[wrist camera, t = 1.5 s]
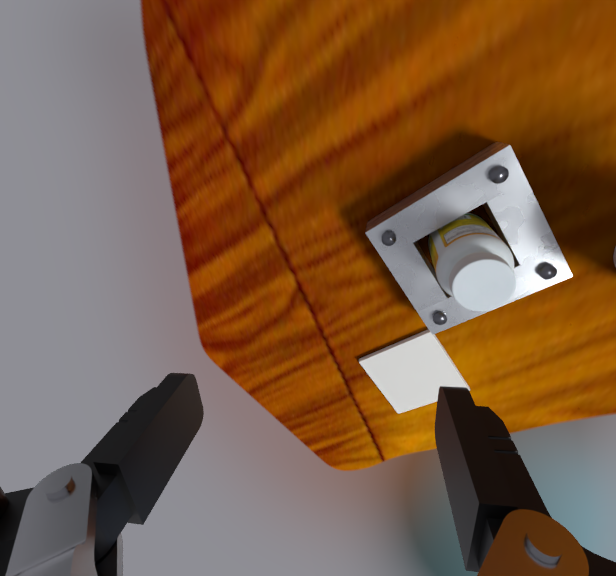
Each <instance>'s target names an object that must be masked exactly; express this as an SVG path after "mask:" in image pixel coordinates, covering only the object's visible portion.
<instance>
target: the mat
mask: <svg viewBox="0 0 616 576" xmlns="http://www.w3.org/2000/svg"><path fill="white" fill-rule="evenodd" d="M359 363H360V364H361V366H362V367H363V368H364V370H365V371H366V372H367V374H368V375H369V376H370V377H371V379H372V380H373V381H374V383H375V384H376V385H377V387H378V388H379V389H380V391H381V392H382V393H383V395H384V396H385V397H386V399H387V400H388V401H389V403H390V404H391V405H392V406H393V408H394V409H395V410H396V412H397V413H398V414H399V413H402V412H405V411H408V410H412V409H415V408H418V407H421V406H424V405H427V404H430V403H433V402H436V401H438V392H439V388H440V386H446V387H466V388H468V390H469V391H470V388H469V386H468V384H467V383H466V381H465V380H464V378H463V377H462V375H461V374H460V372H459V370H458V369H457V367H456V366H455V364H454V363H453V361H452V360H451V358H450V357H449V355H448V354H447V352H446V351H445V349H444V348H443V346H442V345H441V343H440V342H439V340H438V338H437V337H436V335H435V334H433V335H432V334H431V332H430V331H429V329H428V330H426V331H423V332H421V333H419V334H416V335H414V336H411V337H409V338H407V339H404V340H402V341H400V342H397V343H395V344H393V345H390V346H388V347H386V348H383V349H381V350H378V351H376V352H374V353H371V354H369V355H367V356H364V357H362V358H360V359H359Z"/></svg>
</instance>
